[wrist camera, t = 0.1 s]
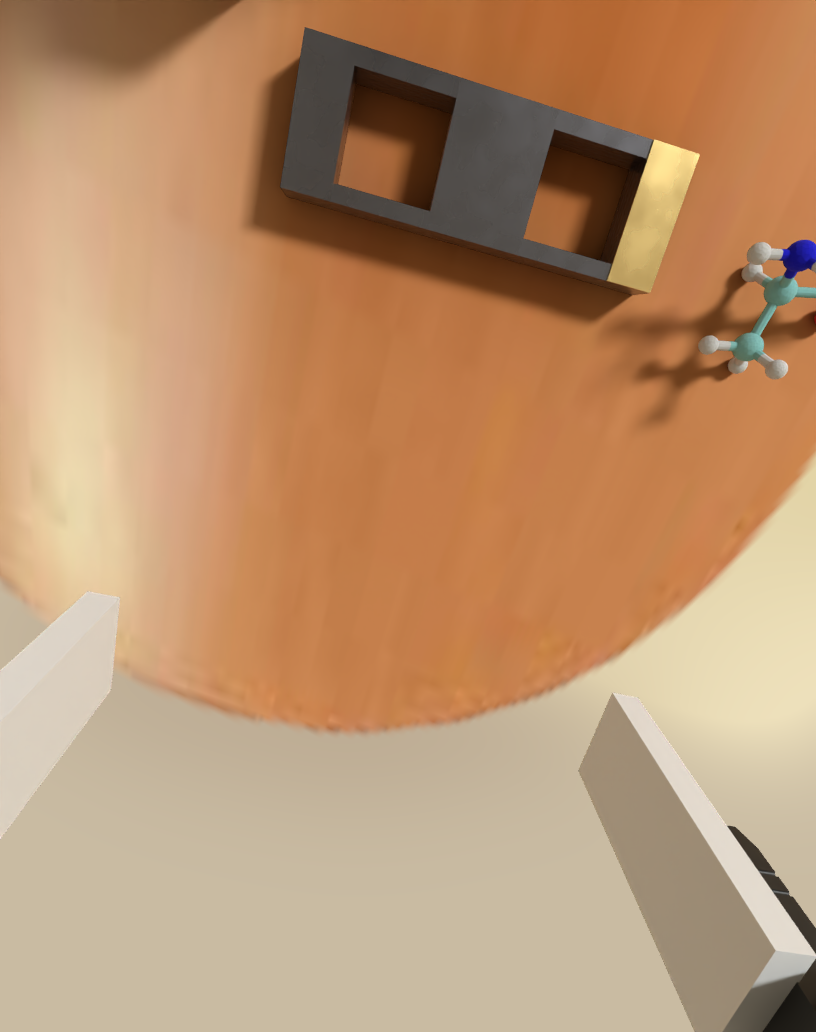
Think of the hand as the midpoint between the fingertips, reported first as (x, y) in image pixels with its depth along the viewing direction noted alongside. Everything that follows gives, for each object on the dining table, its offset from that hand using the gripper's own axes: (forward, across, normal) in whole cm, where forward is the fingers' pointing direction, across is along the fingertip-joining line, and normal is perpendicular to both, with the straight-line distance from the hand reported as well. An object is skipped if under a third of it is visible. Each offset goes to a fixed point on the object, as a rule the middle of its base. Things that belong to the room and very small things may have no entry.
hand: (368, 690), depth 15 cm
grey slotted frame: (+28, +3, +19) cm, 34 cm away
